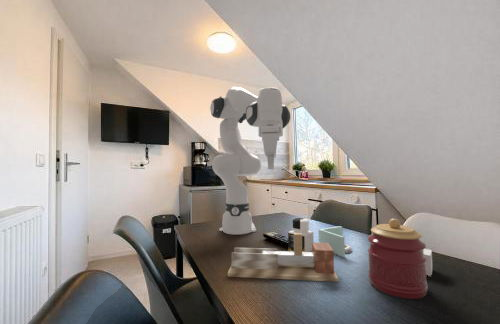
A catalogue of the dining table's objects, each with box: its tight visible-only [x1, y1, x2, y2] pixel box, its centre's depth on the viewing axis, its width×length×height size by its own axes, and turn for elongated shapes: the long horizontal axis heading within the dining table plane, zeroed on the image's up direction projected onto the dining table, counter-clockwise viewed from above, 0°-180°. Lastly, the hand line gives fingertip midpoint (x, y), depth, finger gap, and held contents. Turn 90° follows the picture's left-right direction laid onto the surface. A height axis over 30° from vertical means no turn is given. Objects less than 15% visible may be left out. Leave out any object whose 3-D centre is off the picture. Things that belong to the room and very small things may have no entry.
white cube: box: [423, 248, 433, 277], centre depth 69 cm, size 6×6×6 cm
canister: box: [367, 218, 428, 300], centre depth 60 cm, size 13×13×18 cm
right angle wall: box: [318, 225, 352, 258], centre depth 88 cm, size 12×12×8 cm
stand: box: [227, 242, 339, 283], centre depth 70 cm, size 31×12×8 cm, turn 83°
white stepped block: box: [262, 233, 315, 267], centre depth 70 cm, size 18×3×9 cm, turn 83°
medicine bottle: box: [287, 217, 315, 252], centre depth 87 cm, size 7×7×12 cm
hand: (271, 169), depth 83 cm, fingers open, 8 cm apart
